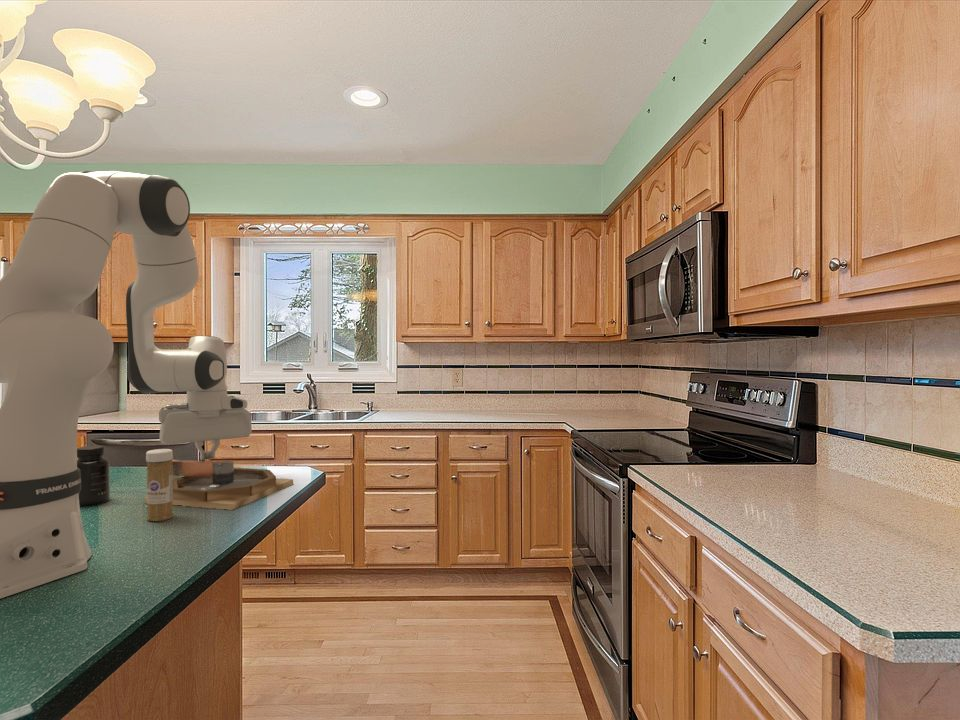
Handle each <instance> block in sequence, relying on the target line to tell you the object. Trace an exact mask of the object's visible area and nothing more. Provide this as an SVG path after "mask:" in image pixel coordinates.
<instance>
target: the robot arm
mask: <svg viewBox="0 0 960 720" xmlns="http://www.w3.org/2000/svg"><path fill="white" fill-rule="evenodd" d="M190 205H191V204H190V201H189V197H188V194H187V193H186V191H185V189H184V188H183V187H182V186H181V185H180V184H179V182H178V181H176V180H175V179H172V178H170V177H167V176H163V175H159V174H158V175H157V174H151V175H149V174H143V173H142V174H141V173H135V172H125V171H122V170H121V171H120V170H118V171H117V170H109V171H107V170H106V171H105V170H104V171H102V170H101V171H91V170H83V171H77V172H74V171H73V172H67V173H66V172H65V173H63V174H60V175H59V176H57V177H56V178H55V179H54V180H53V181H52V182H51V184H50V185H49V186H48V188H47V189H46V191H45V192H44V194H43V195H42V197H41V198H40V200H39V202H38V203H37V205H36V208H35V209H34V211H33V213H32V215H31V217H30V220H29V222H28V225H27V228H26V230H25V232H24V234H23V237H22V239H21V241H20V244H19V246H18V249H17V251H16V253H15V256H14V258H13V260H12V262H11V264H10V266H9V267H8V269H7V270H6V272H5V273H4V275H3V276H2V277H1V279H0V384H7V388H6V389H7V390H6V393H5V397H4V399H3V401H2V404H1V407H0V599H5V597H10V596H11V595H15V594H18V593H22V592H24V591H28V590H30V589H34V588H36V587H38V586H41V585H44V584H47V583H50V582H53V581H55V580H59V579H62V578H65V577H68V576H70V575H74V574H77V573H79V572H83V571H85V570H86V569H87V568H88V560H89V559H90V558H91V557H92V554H93V553H92V551H91V548H90V546H89V543H88V539H87V537H86V533H85V530H84V525H83V519H82V513H81V508H80V507H81V506H80V505H79V494H80V491H81V473H80V469H79V468H77V460H78V458H77V449H78V423H79V416H80V412H81V409H82V406H83V403H84V400H85V398H86V396H87V395H86V394H88V393H87V392H88V391H89V389H90V387H91V386H92V383H94V382H95V380H96V379H97V378H98V377H99V376H100V375H101V374H102V373H104V371H106V370H107V368H108V367H109V365H110V364H111V362H112V360H113V357H114V356H113V355H114V347H115V346H114V341H113V337H112V335H111V333H110V331H109V330H108V328H107V327H106V326H105V324H103V322H102V321H100V320H98V319H96V318H95V317H92V316H87V315H85V314H79V313H77V312H72V311H73V310H74V309H75V308H76V307H77V306H78V305H80V303H82V302H84V301H85V300H87V299H88V298H90V297H91V296H92V295H93V294H94V293H95V291H96V289H97V288H98V286H99V284H100V281H101V276H102V275H103V272H104V269H105V265H106V263H107V259H108V256H109V254H110V250H111V248H112V245H113V241H114V238H115V237H114V236H115V233H123V234H126V235H131V236H132V245H133V246H132V247H133V251H134V257H135V261H136V262H135V263H136V267H137V269H136V270H137V273H136V278H135V281H133V282H131V283H130V284H129V285H128V287H127V290H126V294H125V295H126V296H125V317H126V318H125V319H126V332H127V333H126V334H127V335H126V336H127V351H128V352H127V353H128V354H127V355H128V356H127V364H126V376H127V380H128V382H129V383H130V385H131V386H132V387H133V388H135V389H136V390H137V391H139V392H140V393H141V394H144V395H145V394H156V393H164V392H165V393H166V392H167V393H169V392H173V393H174V392H175V393H176V392H181V393H182V392H186V403H176V404H166V405H164V406H163V407H161V408H160V409H159V412H158V421H159V422H160V430H159V441H160V442H161V443H162V444H164V445H176V444H187V443H189V444H190V443H194V446H195V448H196V449H197V450H198V452H199V459H200V461H207V460H213V459H214V460H215V458H216V453H215V452H216V451H217V450H218V448H219V446H220V443H221V441H220V440H231V439H241V438H243V439H244V438H249V437H250V436H251V434H252V432H253V431H252V430H253V429H252V427H253V426H252V419H251V415H250V412H249V410H247V408H248V400H246V399H242V398H240V397H236V396H234V395H228V387H227V383H226V377H227V374H228V363H227V362H228V360H227V352H226V351H227V350H226V347H225V346H226V345H225V342H224V340H223V339H221V338H220V337H217V336H214V335H213V336H212V335H205V334H204V335H203V334H201V335H195V336H191V337H190V339H189V341H188V346H187V348H185V349H161V348H158V347H157V345H155V334H154V333H155V331H154V330H155V329H154V314H155V313H154V312H156V311H155V310H156V309H159V308H161V307H162V306H166V305H168V304H171V303H174V302H176V301H179V300H181V299H182V298H184V297H185V296H187V295H188V294H190V293H191V292H192V291H193V290H194V289H195V287H196V285H197V284H198V281H199V276H200V275H199V265H198V264H199V263H198V259H197V255H196V251H195V246H194V245H195V244H194V242H193V239H192V235H191V232H190V229H189V226H188V224H187V223H188V221H189V219H190V215H191V206H190ZM209 441H211V443H210V444H211V445H212V446H211V448H210V450H207V451H206V450H204V449H203V447H202V446H204V444H205V443H204V442H209Z"/></svg>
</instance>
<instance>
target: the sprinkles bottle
mask: <svg viewBox="0 0 960 720" xmlns="http://www.w3.org/2000/svg"><path fill="white" fill-rule="evenodd" d="M172 460H174V451H173V449H170V448H157V449H151V450H147V451H146V453H145V461H146V472H147V473H146V482H147V484H146V497H147V503H146V506H147V509H146V510H147V512H146V513H147V516H146V520H147V521H149V522H161V521H167V520H169V519H172V517H174V513H173V512H174V511H173V508H174V506H173V505H172V500H173V487H172Z"/></svg>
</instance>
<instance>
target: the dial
mask: <svg viewBox="0 0 960 720" xmlns="http://www.w3.org/2000/svg"><path fill="white" fill-rule="evenodd" d="M176 460H177V461H173V475H175V476H179V477H183V476H195V477H199V478H195V479H192V480H189V481H187V482H185V483H183V484H182V485H181V488H186V489H200V490H213V489H221V488H229V487H237V486H245V485H249V484H252V483H255V482H257V481H260V480H263V477H262V476H260V475H257V474H251V473H234V466H235V465H234V461H232V460H220V461H216V460H215V461H212V460H193V459H192V460H191V459H190V460H189V459H176Z"/></svg>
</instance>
